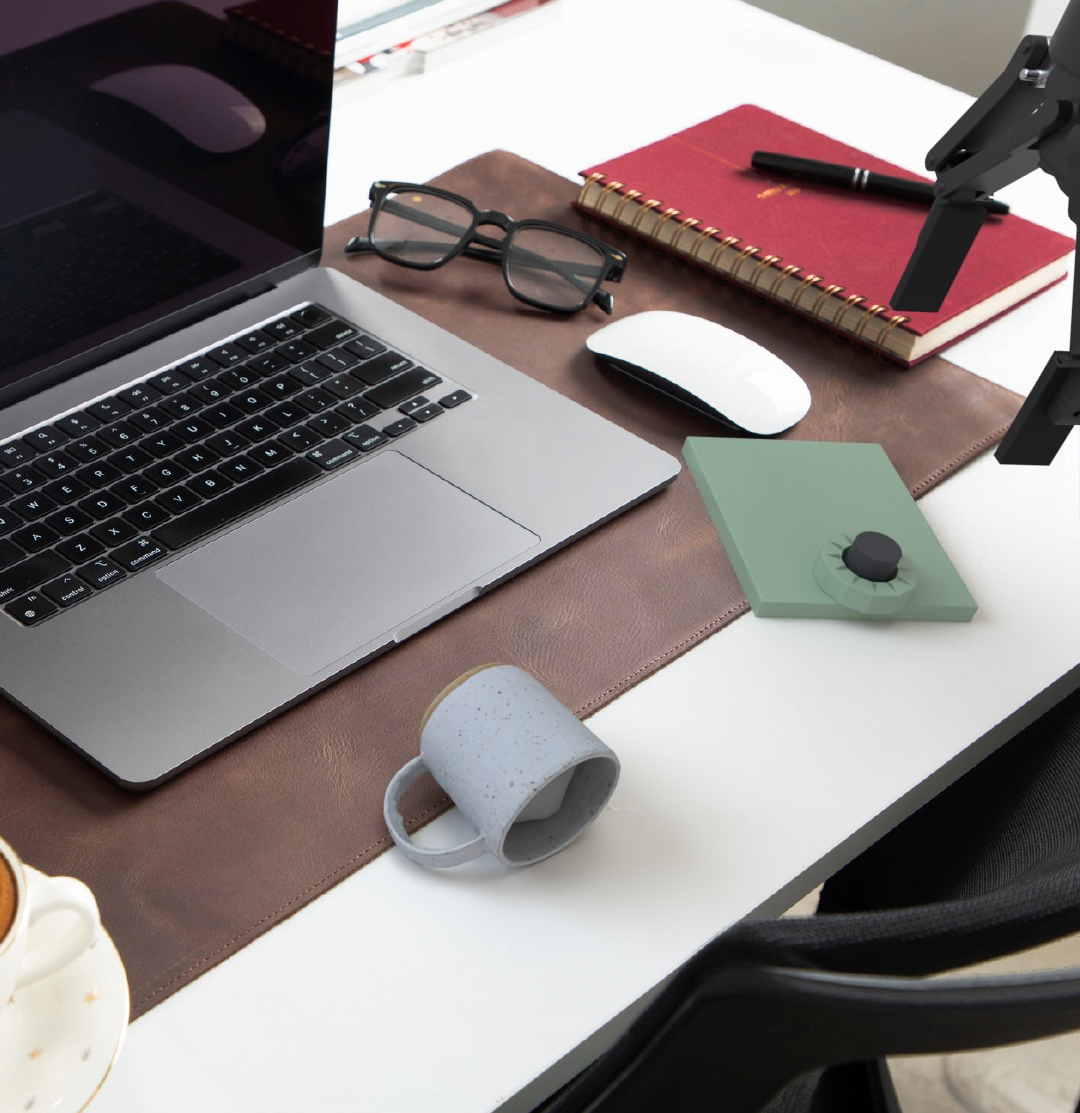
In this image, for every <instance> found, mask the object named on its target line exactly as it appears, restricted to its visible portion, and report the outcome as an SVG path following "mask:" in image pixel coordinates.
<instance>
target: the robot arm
mask: <svg viewBox="0 0 1080 1113" xmlns="http://www.w3.org/2000/svg"><path fill="white" fill-rule="evenodd" d="M924 168H925V170H926V171H927V172H934V173H935V177H936V180H935V181H934V184H933V189H932V190H933V191H932V192H933V196H934V198H935V199H934V201H933V203H932V205H931V207H930V210H929V212H928V214H927V216H926V218H925V220H924V222H923V224H922V227H921V229H920V231H919V233H918V235H917V239H916V245H915V247H914V249H913V251H912V254H911V255H910V257H909V260H908V261H907V264H906V266H905V268H904V270H903V272H902V274H901V276H900V279H899V281H898V283H897V285H896V287H895V289H894V291H893V293H892V295H891V298H890V300H889V302H888V305H889V306H890V308H891V310H892V311H893V312H905V313H906V312H911V313H933V314H938V313H939V312H940V309H941V307H942V305H943V303H944V302H945V300H946V297H947V296H948V295H949V294H948V293H949V292H950V290H951V288H952V286H953V284H954V282H955V280H956V278H957V276H958V274H959V272H960V270H961V268H962V266H963V264H964V262H965V261H966V258H967V256H968V254H969V252H970V250H971V249H972V247H973V244H974V243H975V240H976V238H977V236H978V235H979V232H980V231H981V229H982V227H983V224H984V223H985V221H986V219H987V217H988V215H989V212H988V211H987V209H986V208H985V207H984V206H983V205H975V204H973V203H974V201H977V202H994V201H995V198H990V197H994V195H995V193H996V192H999V191H1000V190H1003V189H1004V188H1006V187H1008V186H1009V185H1011V184H1013V183H1015V182H1016V181H1018V180H1020V179H1022V178H1024V177H1026V176H1027V175H1029V174H1031V173H1033V172H1035V171H1037V170H1038V169H1040V170H1042V171H1043V173H1045V174H1047V175H1049V176H1052V177H1053V178H1054V179H1055V181H1056V183H1057V186H1058V188H1059V190H1060V191H1061V192H1062V193H1063V194H1064V195H1065V196H1066V198H1068V200H1067V216H1068V218H1069V220H1070V221H1071V222H1072V223H1074V224H1075V228H1076V231H1075V232H1076V233H1075V248H1074V262H1073V263H1074V265H1073V281H1072V283H1073V284H1072V298H1071V316H1070V330H1069V331H1070V332H1069V346H1068V349H1069V350H1054V351H1053V352H1052V354H1051V355H1050V357H1049V359H1048V361H1047V362H1046V364H1045V366H1044V367H1043V369H1042V371H1041V373H1040V375H1039V376H1038V377H1037V379H1036V381H1035V383H1034V384H1033V386H1032V388H1031V390H1030V391H1029V393H1028V395H1027V397H1026V398H1025V400H1024V402H1023V403H1022V405H1021V407H1020V409H1019V410H1018V412H1017V413H1016V416H1015V417H1014V419H1013V420H1012V422H1011V424H1010V425H1009V428H1008V429H1007V431H1006V432H1005V434H1004V436H1003V438H1002V439H1001V441H1000V443H999V444H998V446H997V448H996V449H995V451H994V453H993V457H994V459H995V461H997V462H998V464H999V465H1000V466H1001V465H1002V466H1003V465H1004V466H1005V465H1006V466H1039V467H1040V466H1041V467H1050V465H1051V464H1052V462H1053V461H1054V459H1055V458H1056V457H1057V455H1058V453H1059V452H1060V450H1061V448H1062V447H1063V445H1064V443H1065V441H1066V440H1067V438H1068V437H1069V435H1070V434H1071V432H1072V430H1073V429H1074V427H1075V426H1080V0H1069V2H1068V3H1067V6H1066V7H1065V10H1064V11H1063V14H1062V16H1061V18H1060V20H1059V22H1058V24H1057V26H1056V28H1055V30H1054V32H1053V33H1052V35H1042V34H1026V35H1025V36H1023V38H1022V39H1021V40H1020V42H1019V44H1018V46H1017V48H1016V49H1015V51H1014V53H1013V54H1012V56H1011V58H1010V60H1009V62H1008V64H1006V67H1005V69H1004V70H1003V71H1002V73H1001V74H1000V75H998V77H996V79H995V80H994V81H993V82H992V83H991V84H990V85H989V86H988V87H987V88H986V90H985V91H983V93H982V94H981V95H980V96H979V97H978V98H977V99H976V100H975V101H974V102H973V103H972V105H971V106H970V107H969V108H968V109H967V110H966V111H965V112H964V113H963V114H962V115H961V116H960V117H959V118H958V119H957V120H956V122H955V123H953V125H952V126H951V127H950V128H949V129H948V130H947V131H946V132H945V133H944V135H942V136H941V138H939V140H937V142H935V144H934V145H933V146H932V147H931V148H930V149H929V150H928V152H926V155H925V158H924Z"/></svg>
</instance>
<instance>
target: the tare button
mask: <svg viewBox="0 0 1080 1113" xmlns="http://www.w3.org/2000/svg"><path fill="white" fill-rule="evenodd" d="M901 557H902V550H901V548H900V546H899V545H898V543H897V542H896V541H894V540H893V539H892V538H890V537H888V536H887V535H884V534H882V533H879V532H874V531H865V532H862V533H860V534H858V535H857V536H856V538H855V540H854V542H853V544H852V546H851V548H850V549H849V551H848V553H847V555H846V557H845V565H846V567H847V568H848V569H849V570H850V571H852V572H853V573H854V574H856V575H857V576H858V577H860V578H863V579H865V580H868V581H871V582H885V581H887V580H888V579H889V578H890V577H891V575H892V573H893V571H894V569H895V568H896V566H897V564H898V562H899V560H900V559H901Z"/></svg>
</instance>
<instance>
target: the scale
mask: <svg viewBox="0 0 1080 1113" xmlns="http://www.w3.org/2000/svg"><path fill="white" fill-rule="evenodd" d="M681 454H682V456H683V458H684V461H685V464H686V466H687V468H688V470H689V472H690V475H691V476H692V479H693V481H694V484H695V486H696V488H697V491H698V492H699V494H700V497H701V499H702V501H703V503H704V506H705V508H706V510H707V512H708V515H709V517H710V519H711V521H712V524H713V526H714V528H715V531H716V533H717V535H718V537H719V540H720V542H721V544H722V546H723V548H724V552H725V553H726V555H727V557H728V560H729V563H730V564H731V566H732V569H733V571H734V573H735V575H736V578H737V580H738V582H739V585H740V587H741V588H742V591H743V593H744V595H745V598H746V601H747V602H748V605H749V607H750V609H751V611H752V613H753V616H754V617H755V618H767V619H808V620H809V619H813V620H815V619H816V620H852V621H853V620H854V621H855V620H857V621H858V620H859V621H898V622H900V621H901V622H903V621H904V622H944V623H945V622H946V623H947V622H949V623H950V622H951V623H970V622H971V621H972V619H973V617H974V616H975V614H976V613H977V611H978V610H979V604H978V603H977V601H976V600H975V597H974V596H973V595H972V593H971V591H970V589H969V588H968V586H967V585H966V584H965V582H964V580H963V578H962V577H961V575H960V572H958V570H957V569H956V566H955V565H954V564H953V562H952V560H951V558H950V557H949V555H948V554H947V552H946V550H945V549H944V547H943V545H942V544H941V542H940V541H939V540H940V539H938V537H937V536H936V534H935V532H934V530H933V529H932V527H931V526H930V524H929V521H927V519H926V517H925V516H924V514H923V512H922V511H921V509H920V508H919V506H918V504H917V502H916V501H915V499H914V498H913V496H912V494H911V492H910V490H909V489H908V488H907V486H906V484H905V482H904V481H903V480H902V478H901V475H899V473H898V471H897V469H896V468H895V466H894V465H893V463H892V462H891V460H890V458H889V457H888V455H887V453H886V451H885V449H884V448H883V446H882V445H881V443H875V442H873V443H871V442H848V441H845V442H844V441H819V440H818V441H817V440H792V439H789V440H788V439H767V438H764V439H763V438H741V437H739V438H738V437H716V436H715V437H710V436H687V437H686V438H685V441H684V443H683V446H682V448H681ZM865 531H874V532H879V533H882V534H884V535H887V536H888V537H890V538H892V539H893V540H894V541H896V542H897V543H898V545H899V546H900V548H901V550H902V557H901V559H900V560H899V562H898V564H897V566H896V568H895V569H894V571H893V573H892V575H891V577H890V578H889V579H888V580H887V581H885V582H871V581H868V580H865V579H863V578H860V577H858V576H857V575H856V574H854V573H853V572H852V571H850V570H849V569H848V568H847V567H846V565H845V557H846V555H847V553H848V551H849V549H850V548H851V546H852V544H853V542H854V540H855V538H856V536H857V535H858V534H860V533H862V532H865Z"/></svg>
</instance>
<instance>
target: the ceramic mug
mask: <svg viewBox="0 0 1080 1113" xmlns="http://www.w3.org/2000/svg"><path fill="white" fill-rule="evenodd" d="M417 742H418V744H417V746H418V750H419V752H420V754H419V755H418V756H417V757H413V758H412V759H411V760H410V761H408V762H407V763H405V764H404V765H403V766H402V767H401V768H400V769H399V770H398V771H397V772H396V773H395V775H394V776H393V777H392V779H391V781H390V782H389V783H388V786H387V787H386V790H385V794H384V799H383V818H384V821H385V824H386V828H387V829H388V831H389V834H390V836H391V838H392V840H393V842H394V843H395V845H396V847H397V848H398V849H399V850H400V851H401V853H403V854H404V855H405V857H407V858H408V859H409V860H411V861H413V862H414V863H416V864H418V865H421V866H425V867H430V868H436V869H448V868H453V867H457V866H460V865H463V864H465V863H468V862H470V861H473V860H476V859H478V858H480V857H482V856H484V855H486V854H489V853H491V854H492V855H493V856H494V857H495V858H496V859H497V860H498V861H499V862H500V863H502V864H503V865H505V866H508V867H524V866H528V865H532V864H535V863H537V862H540V861H542V860H543V861H544V859H547V858H549V857H550V856H552V855H554V854H555V853H558V852H559V851H561V850H563V849H564V847H567V846H568V845H570V844H571V843H572V842H574V841H575V839H576V838H578V837H579V836H581V835H582V834H583V833H584V832H585V831H586V830H587V829H588V828H589V827H590V826H591V825H592V824H593V823H594V822H595V821H596V820H597V819H598V818H599V816H600V814H601V813H602V811H604V808H606V807H607V805H608V803H609V801H610V799H611V797H612V796H613V795H614V792H615V790H616V788H617V787H618V784H619V780H620V776H621V770H622V769H621V762H620V759H619V757H618V755H617V754H616V753H615V751H614V750H612V748H610V747H609V746H608V745H607V744H606V743H605V742H604V741H602V740H601V738H599V736H597V735H596V734H595V733H594V732H593V731H592V730H590V728H588V727H587V726H586V724H585V723H584V722H582V721H581V720H580V719H579V718H578V717H577V715H575V714H574V713H573V712H572V711H571V710H570V709H568V708H567V707H566V706H565V705H564V704H563V703H561V702H560V701H559V700H558V699H557V698H556V697H555V696H554V695H553V693H551V691H550V690H549V689H547V687H545V686H544V685H543V684H542V683H541V682H539V680H538V679H536V678H535V677H534V676H532V675H531V674H529V673H528V672H526V671H524V670H523V669H521V668H520V667H518V666H516V665H514V664H512V663H510V662H504V661H503V662H502V661H495V662H489V663H485V664H481V665H477V666H476V667H474V668H472V669H470V670H468V671H466V672H464V673H462V674H461V675H459V676H457V677H456V679H454V680H453V681H451V682H450V683H449V684H448V685H446V686H445V688H443V689H442V690H441V692H439V693H438V694H437V696H436V697H435V698H434V700H433V701H432V702H431V704H429V706H428V707H427V710H426V711H425V712H424V715H423V716H422V720H421V722H420V725H419V730H418V736H417ZM426 773H430V775H431V776H432V778H434V779H435V781H436V782H437V783H438V785H439V786H440V788H441V789H443V790H444V792H445V793H446V794H447V795H448V796H449V797H450V799H451V800H452V802H454V804H455V806H456V807H457V808H458V810H459V811H460V813H462V815H463V816H464V818H465V819H466V821H467V823H469V825H470V826H471V828H472V829H473V831H474V832H475V834H477V835H478V836H477V837H475V838H474V839H471V840H470V841H469V840H468V841H465V842H463V843H460V844H458V845H454V846H450V847H446V848H429V847H426V846H417V845H415V844H414V843H413V841H412V840H411V839H410V838H411V837H409V834H408V833H407V831H406V828H405V825H404V817H403V815H401V814H400V812H399V811H398V805H399V802H400V799H401V798H402V795H403V794H404V793H405V792H406V791H407V790H408V788H409V787H410V786H411V785H413V783H414V782H415V781H416V780H417V779H419V778H420V777H422V776H423V775H424V774H426Z"/></svg>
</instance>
